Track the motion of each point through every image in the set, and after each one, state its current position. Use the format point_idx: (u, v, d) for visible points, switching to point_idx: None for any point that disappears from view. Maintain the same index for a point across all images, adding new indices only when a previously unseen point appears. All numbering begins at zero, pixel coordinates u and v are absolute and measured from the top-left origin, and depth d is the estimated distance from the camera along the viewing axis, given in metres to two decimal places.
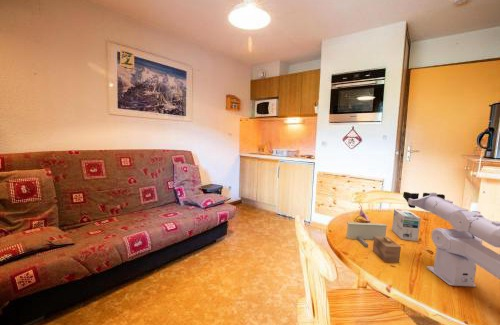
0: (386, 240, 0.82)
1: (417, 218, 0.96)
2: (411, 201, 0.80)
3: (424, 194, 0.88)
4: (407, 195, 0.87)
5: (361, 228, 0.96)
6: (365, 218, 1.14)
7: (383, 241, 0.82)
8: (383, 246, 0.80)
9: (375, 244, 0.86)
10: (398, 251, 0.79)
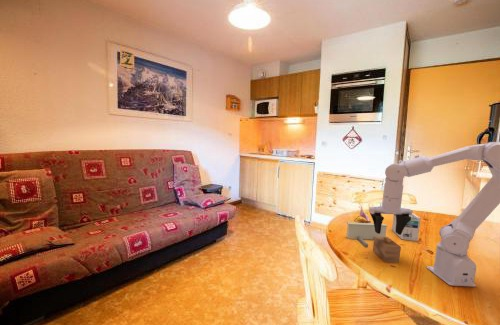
0: (386, 240, 0.82)
1: (417, 218, 0.96)
2: (370, 208, 0.82)
3: (396, 231, 0.83)
4: (376, 225, 0.82)
5: (361, 228, 0.96)
6: (365, 218, 1.14)
7: (383, 241, 0.82)
8: (383, 246, 0.80)
9: (375, 244, 0.86)
10: (398, 251, 0.79)
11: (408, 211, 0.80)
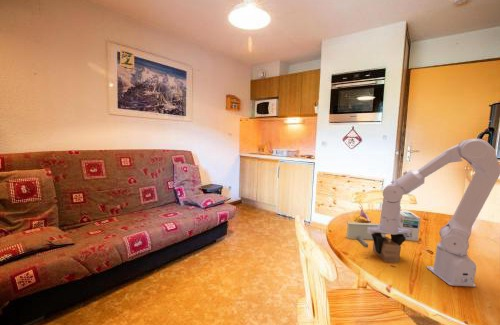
0: (386, 240, 0.82)
1: (417, 218, 0.96)
2: (368, 228, 0.83)
3: None
4: (376, 245, 0.83)
5: (361, 228, 0.96)
6: (366, 218, 1.14)
7: (383, 241, 0.82)
8: (383, 245, 0.80)
9: None
10: (398, 251, 0.79)
11: (405, 231, 0.81)
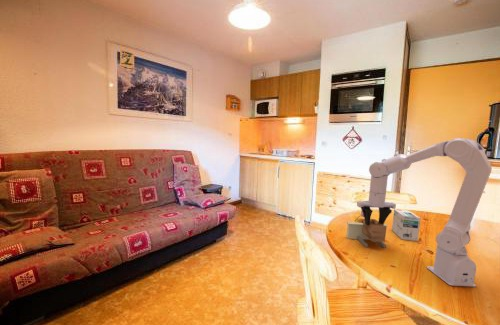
0: (373, 221, 0.91)
1: (417, 218, 0.96)
2: (358, 202, 0.91)
3: None
4: (365, 218, 0.92)
5: (361, 228, 0.96)
6: None
7: (371, 222, 0.91)
8: (371, 226, 0.89)
9: (364, 226, 0.95)
10: (384, 231, 0.88)
11: (392, 205, 0.89)
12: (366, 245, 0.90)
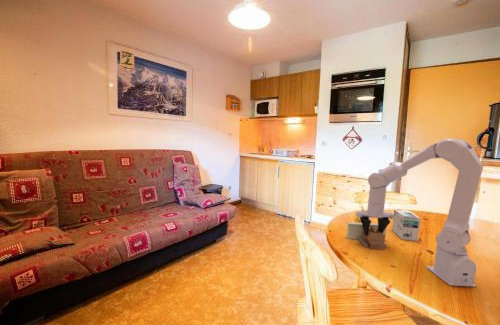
0: (372, 229, 0.91)
1: (417, 218, 0.96)
2: (356, 212, 0.92)
3: None
4: (364, 228, 0.92)
5: (361, 228, 0.96)
6: None
7: (370, 230, 0.92)
8: (370, 234, 0.90)
9: (362, 234, 0.95)
10: (382, 239, 0.88)
11: (390, 215, 0.90)
12: (366, 245, 0.90)
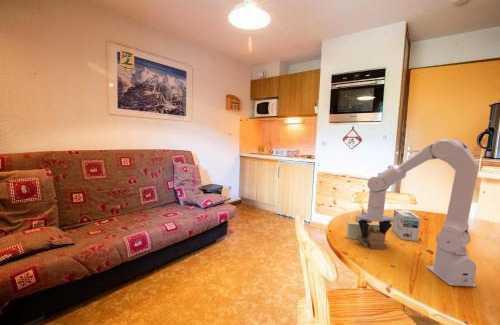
0: (372, 229, 0.91)
1: (417, 218, 0.96)
2: (356, 216, 0.92)
3: None
4: (362, 231, 0.93)
5: None
6: None
7: (370, 230, 0.92)
8: (370, 234, 0.90)
9: None
10: (383, 239, 0.88)
11: (390, 219, 0.90)
12: (366, 245, 0.90)
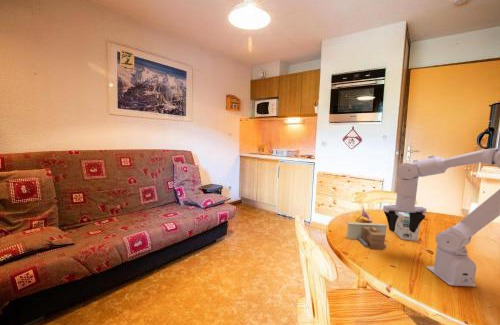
0: (372, 229, 0.91)
1: None
2: (384, 206, 0.83)
3: (410, 229, 0.84)
4: (390, 223, 0.84)
5: (361, 228, 0.96)
6: (367, 218, 1.14)
7: (370, 230, 0.92)
8: (370, 234, 0.90)
9: (363, 234, 0.95)
10: (383, 239, 0.88)
11: (422, 209, 0.81)
12: (366, 245, 0.90)
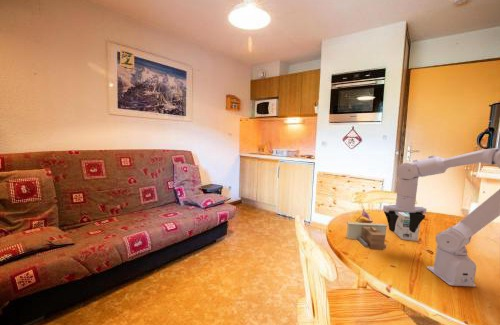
0: (372, 229, 0.91)
1: None
2: (384, 206, 0.83)
3: (410, 229, 0.84)
4: (390, 223, 0.84)
5: (361, 228, 0.96)
6: (368, 218, 1.14)
7: (370, 230, 0.92)
8: (370, 234, 0.90)
9: (363, 234, 0.95)
10: (383, 239, 0.88)
11: (422, 209, 0.81)
12: (366, 245, 0.90)
